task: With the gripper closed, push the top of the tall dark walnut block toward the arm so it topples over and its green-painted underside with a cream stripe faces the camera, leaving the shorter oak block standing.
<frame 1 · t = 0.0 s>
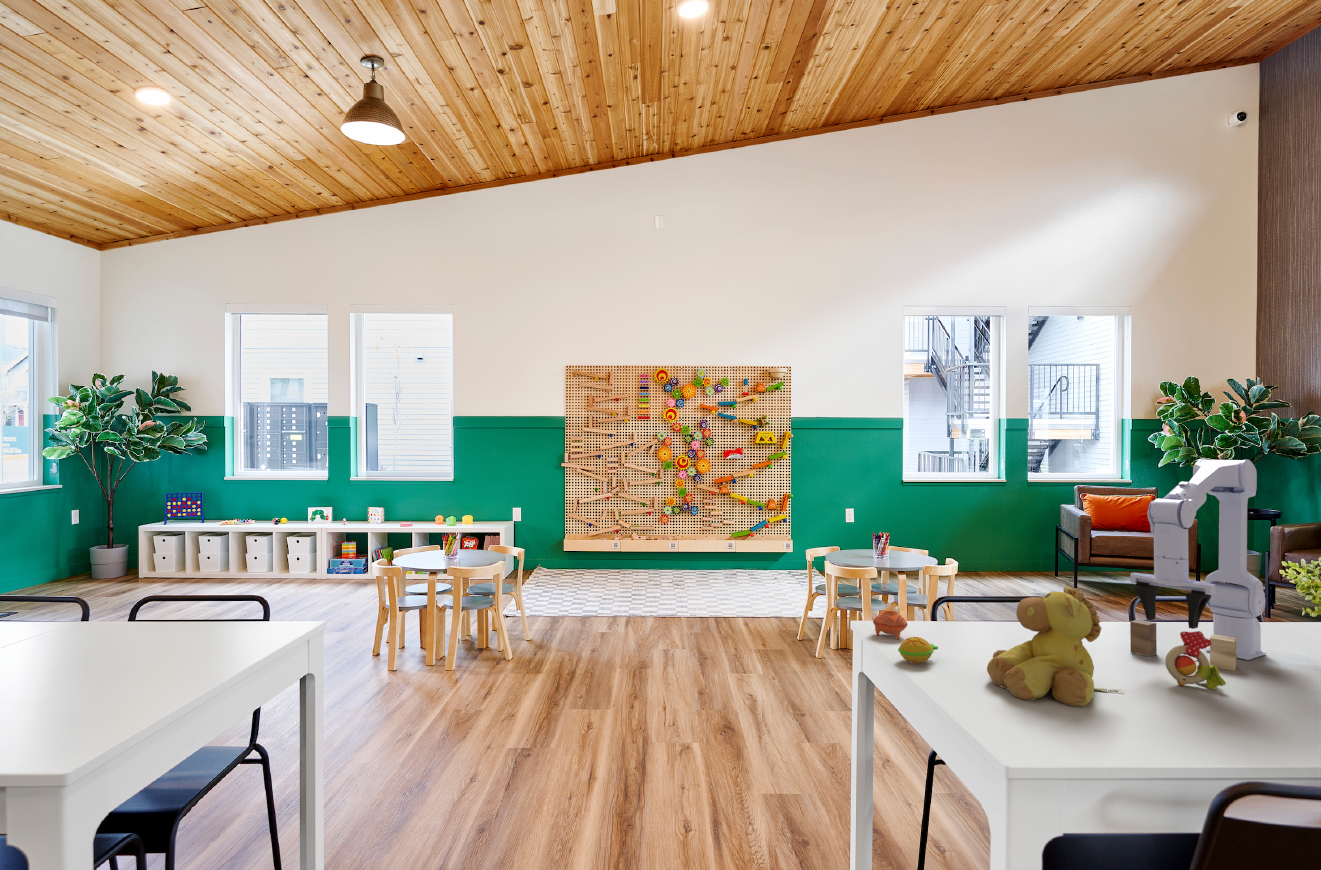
hand: (1171, 623, 141), 10 cm above the table, tool pointing down, fingers open, 7 cm apart
bird rattle: (1194, 687, 133), on the table
oak block: (1223, 666, 146), on the table
walnut block: (1143, 653, 154), on the table
giraffe plush: (1049, 689, 132), on the table
pot: (890, 637, 167), on the table
yellow green oval toy: (917, 662, 147), on the table
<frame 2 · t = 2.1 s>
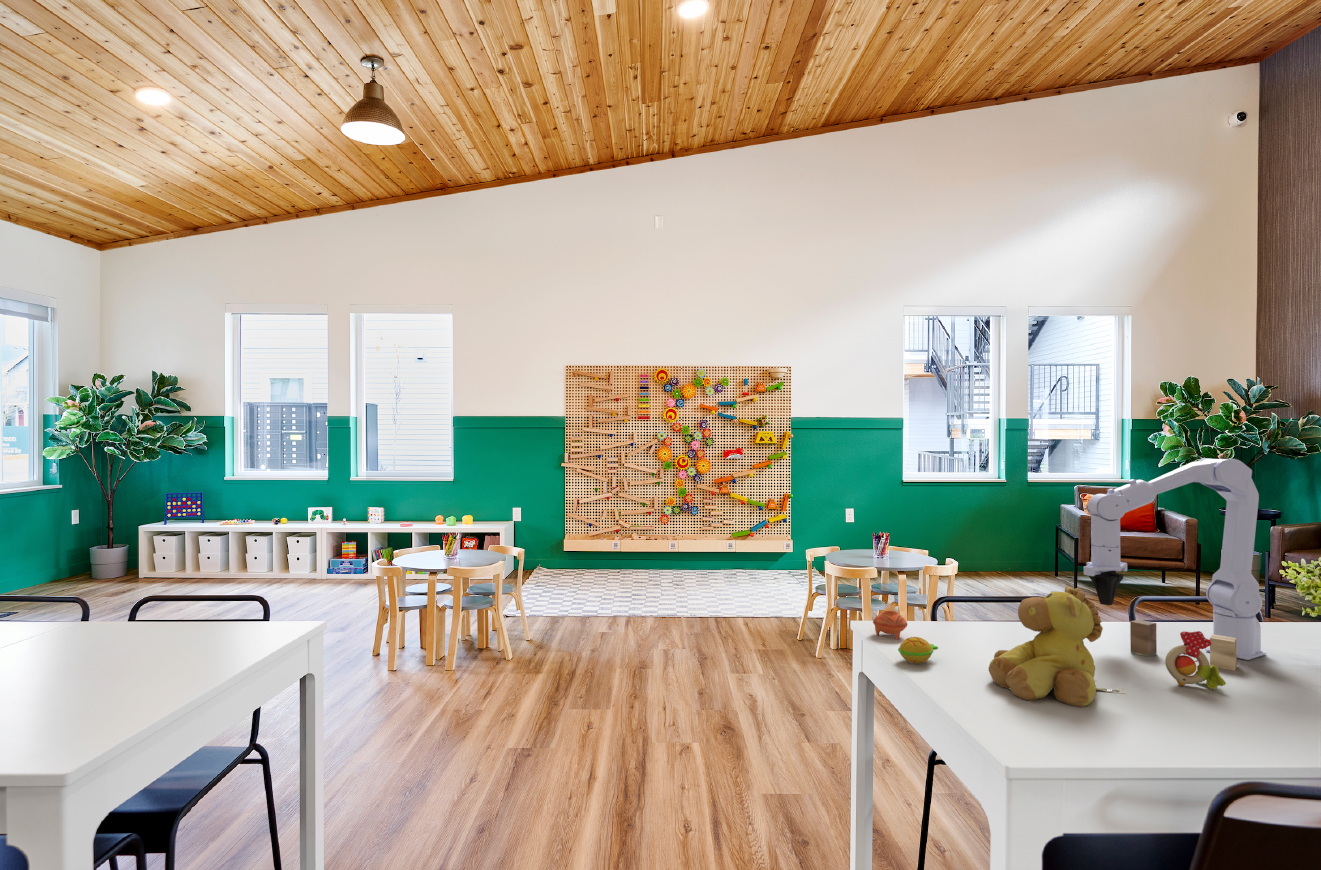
hand: (1106, 604, 159), 10 cm above the table, tool pointing down, fingers closed
nothing on the table moved.
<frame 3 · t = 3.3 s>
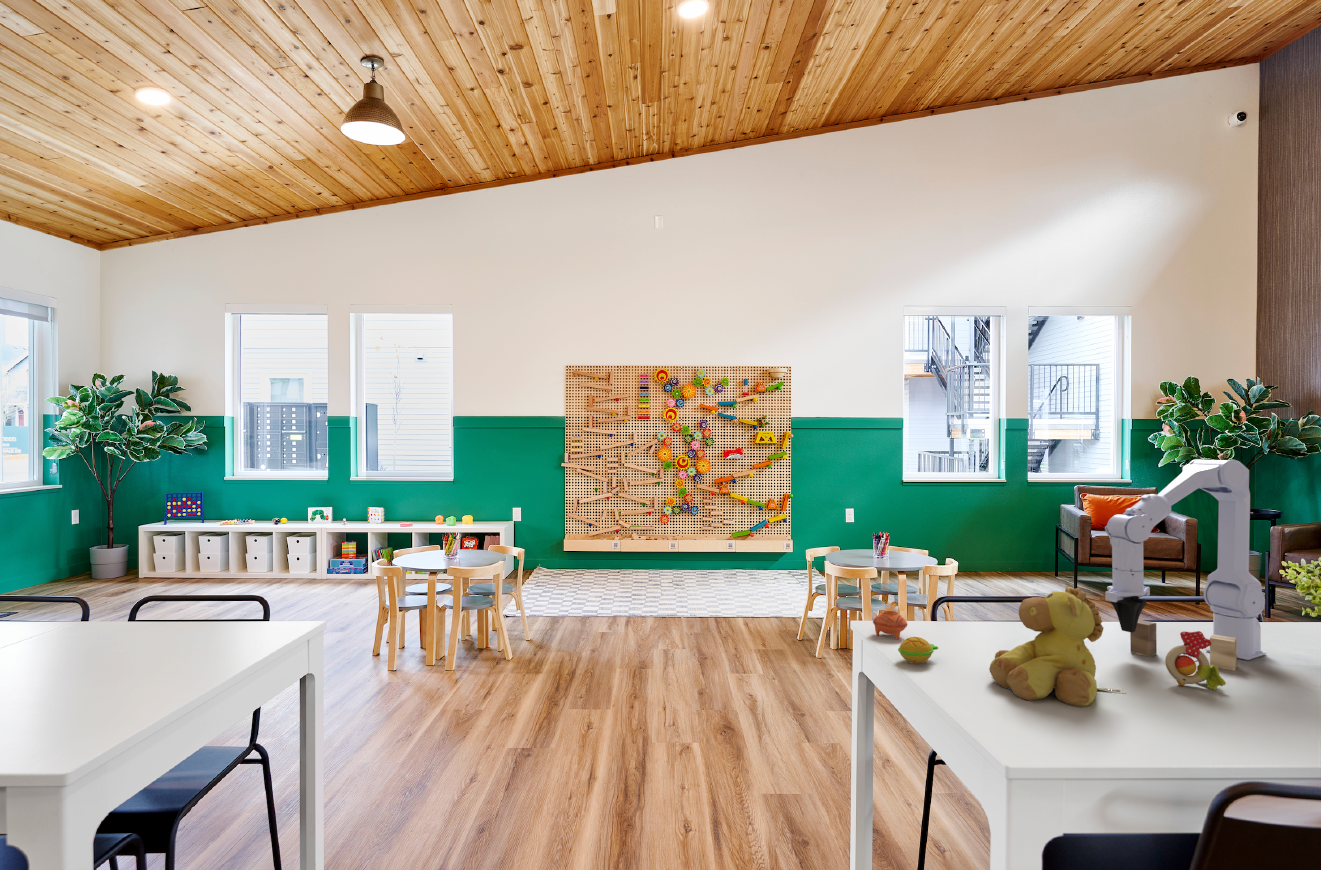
hand: (1128, 631, 151), 6 cm above the table, tool pointing down, fingers closed
nothing on the table moved.
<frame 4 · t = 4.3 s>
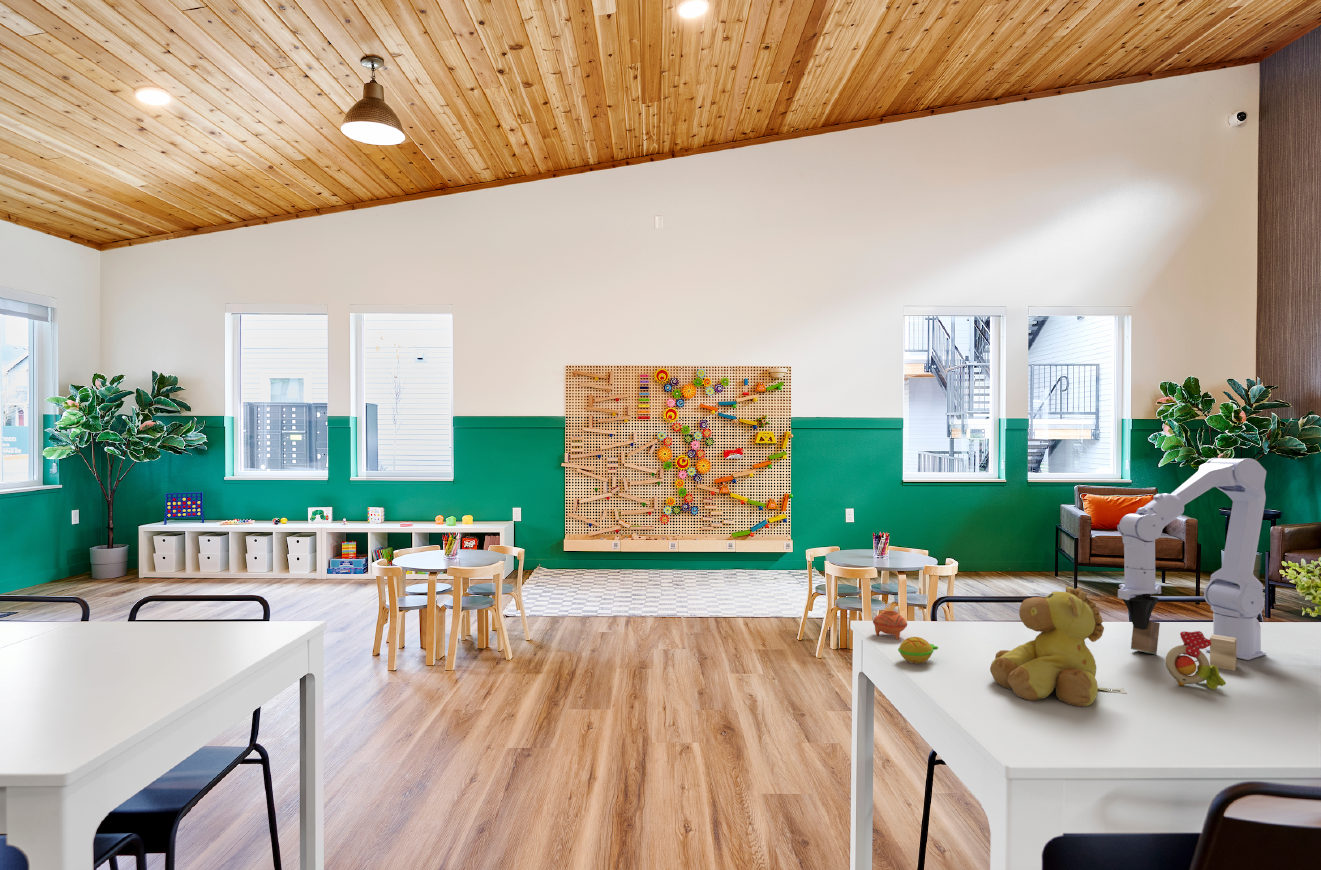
hand: (1140, 628, 154), 6 cm above the table, tool pointing down, fingers closed
walnut block: (1143, 651, 154), on the table, tilted 13°
everything else where it was.
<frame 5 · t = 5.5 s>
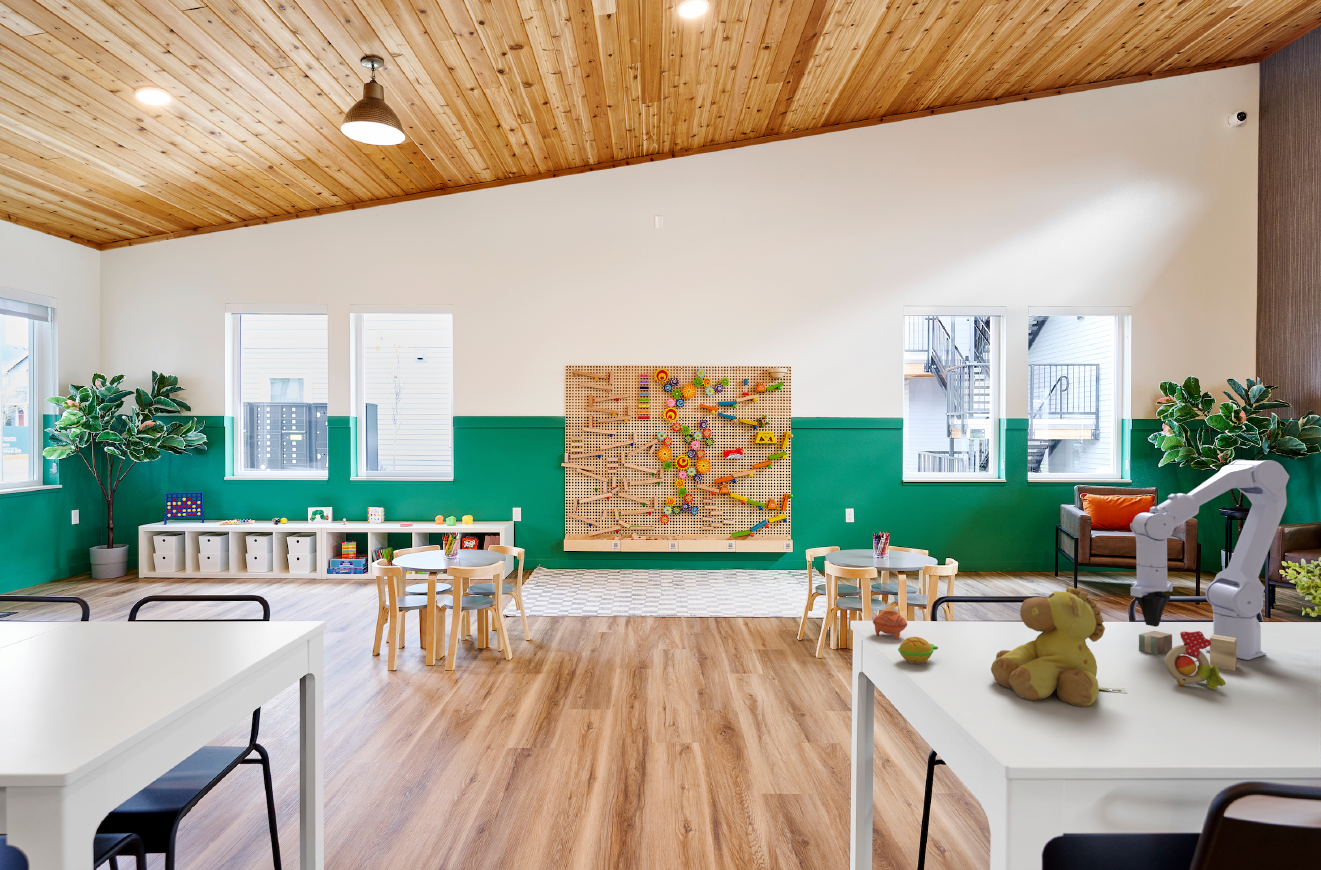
hand: (1152, 625, 156), 6 cm above the table, tool pointing down, fingers closed
walnut block: (1147, 644, 155), point 2 cm above the table, tilted 90°
everything else where it was.
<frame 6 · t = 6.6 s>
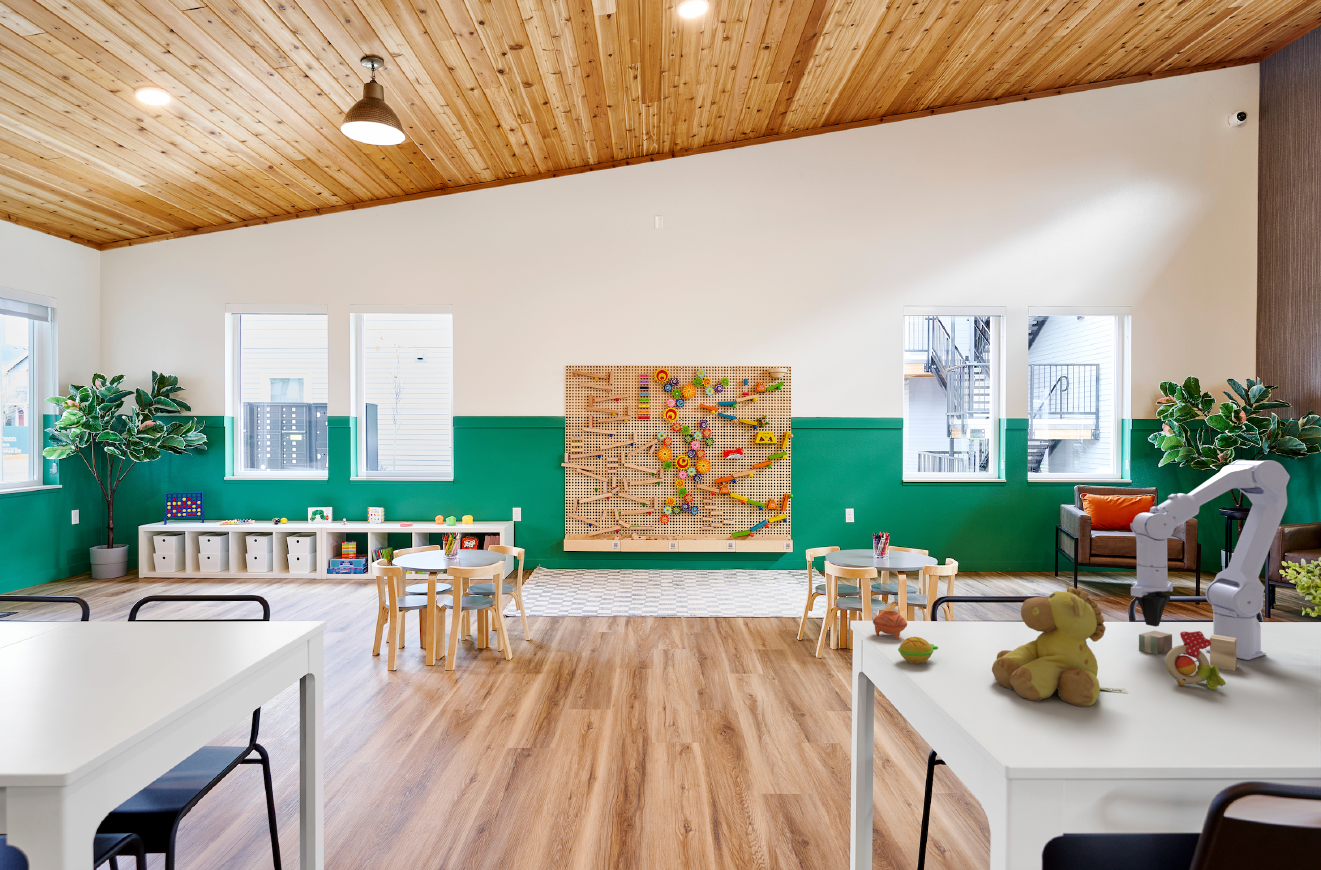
hand: (1152, 625, 156), 6 cm above the table, tool pointing down, fingers closed
nothing on the table moved.
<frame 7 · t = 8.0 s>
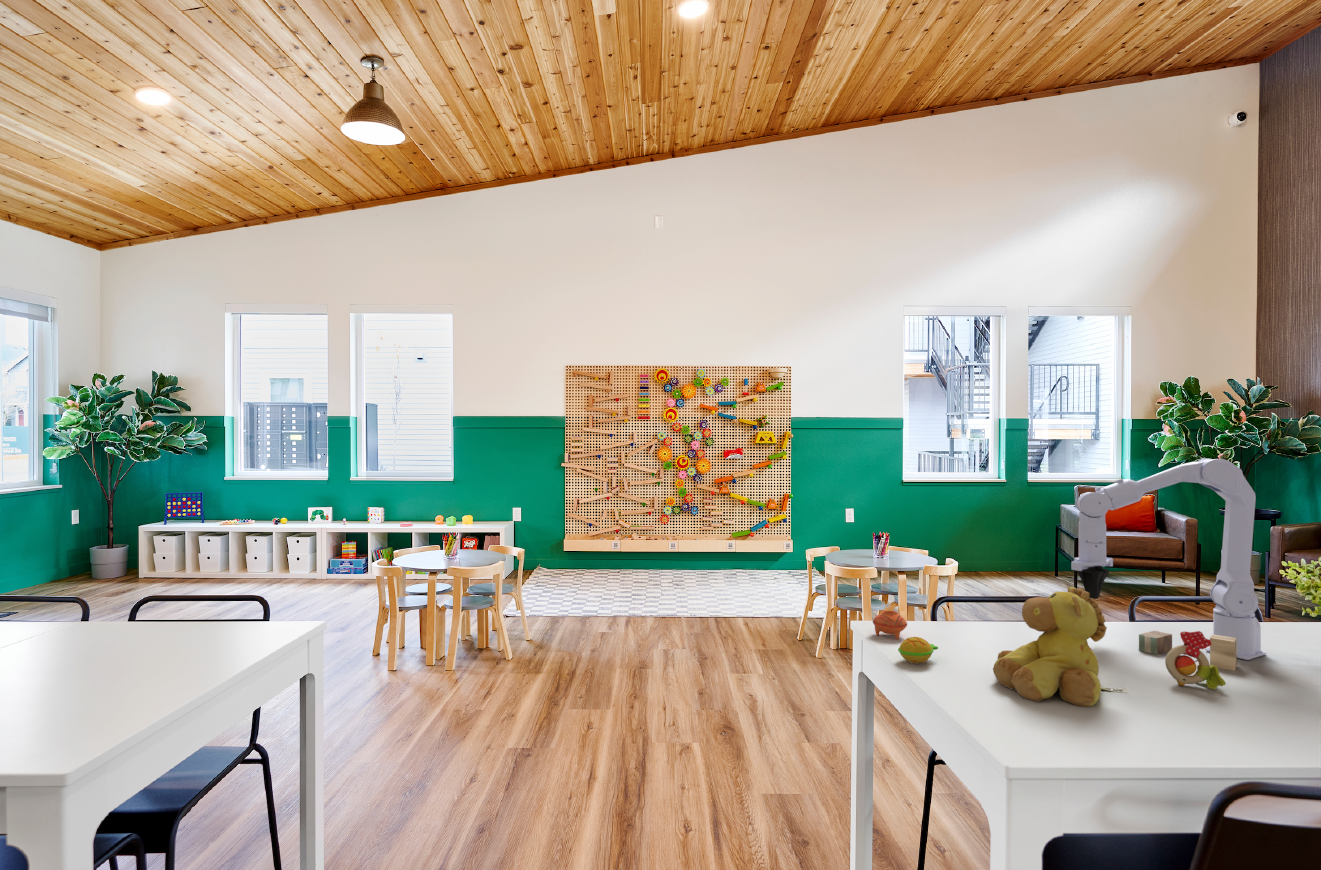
hand: (1092, 597, 166), 10 cm above the table, tool pointing down, fingers closed
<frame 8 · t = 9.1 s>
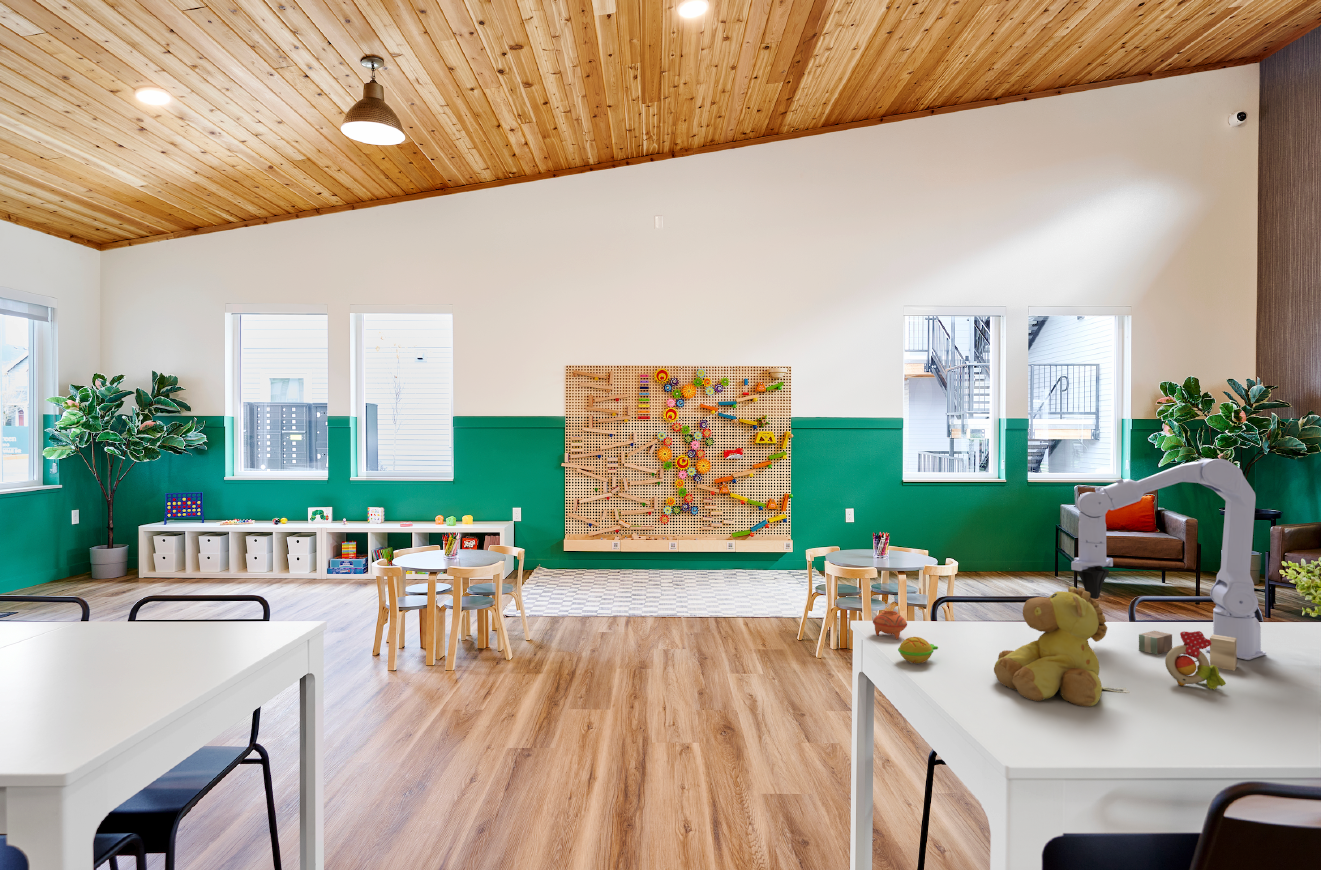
hand: (1092, 597, 166), 10 cm above the table, tool pointing down, fingers closed
at the end: walnut block tilted 90°; walnut block inside the target area (3.7 cm from its centre), point 1.8 cm above the table; oak block tilted 0° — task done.
